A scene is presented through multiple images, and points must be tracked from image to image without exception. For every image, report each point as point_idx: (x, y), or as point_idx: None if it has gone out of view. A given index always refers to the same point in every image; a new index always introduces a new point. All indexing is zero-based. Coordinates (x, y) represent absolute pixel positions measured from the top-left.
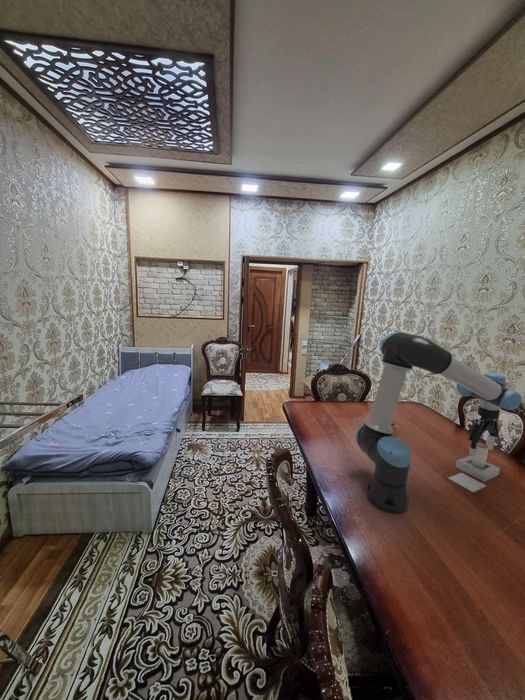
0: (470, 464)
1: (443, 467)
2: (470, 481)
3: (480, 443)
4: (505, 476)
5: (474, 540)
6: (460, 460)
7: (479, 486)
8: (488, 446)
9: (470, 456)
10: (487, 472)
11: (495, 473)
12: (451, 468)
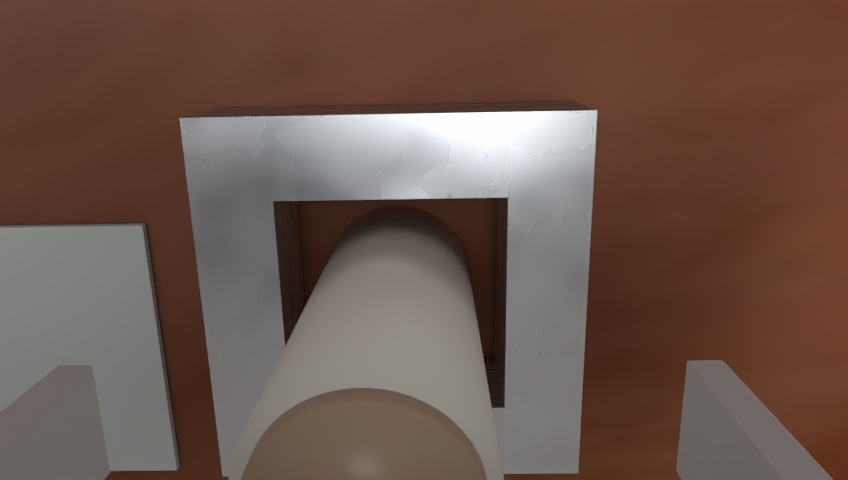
0: (267, 272)
1: (32, 45)
2: None
3: (434, 456)
4: (608, 454)
5: None
6: (232, 145)
7: None
8: (704, 438)
9: (532, 134)
10: None
11: None
12: (125, 106)
